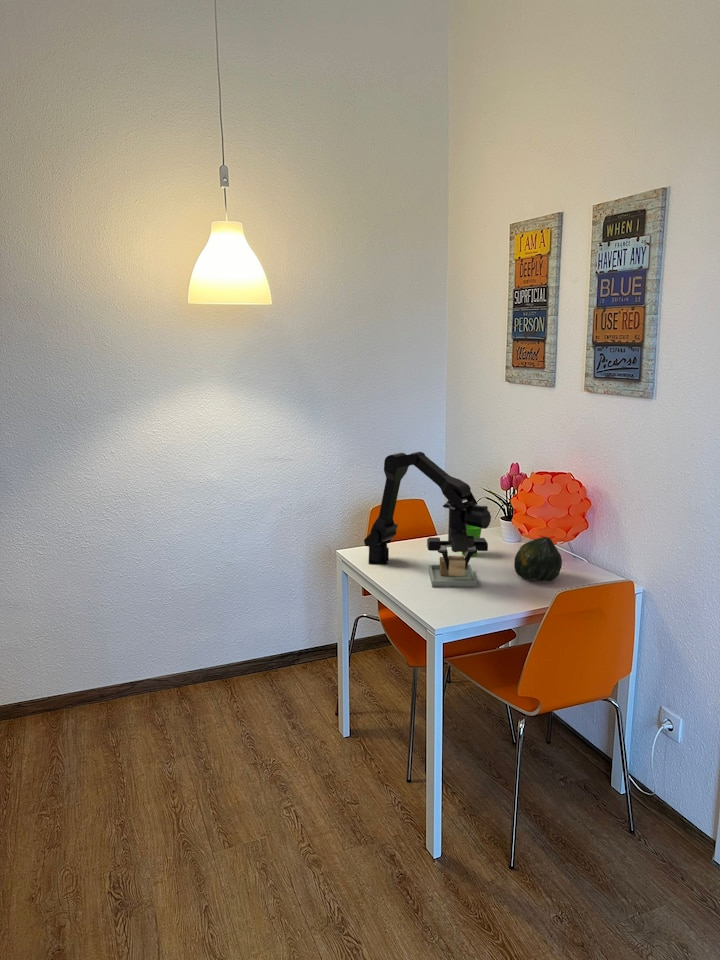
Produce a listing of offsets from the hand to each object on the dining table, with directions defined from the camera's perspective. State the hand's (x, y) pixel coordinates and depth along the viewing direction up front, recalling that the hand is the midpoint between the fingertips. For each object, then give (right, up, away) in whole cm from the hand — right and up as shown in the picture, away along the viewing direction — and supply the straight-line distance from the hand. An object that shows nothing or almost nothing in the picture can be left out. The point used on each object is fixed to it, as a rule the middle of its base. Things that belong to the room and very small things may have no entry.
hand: (456, 569), depth 222 cm
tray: (-1, -3, +4) cm, 6 cm away
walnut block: (-2, -2, +7) cm, 8 cm away
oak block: (0, -1, 0) cm, 1 cm away
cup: (+9, +2, +29) cm, 30 cm away
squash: (+27, -4, +5) cm, 28 cm away
